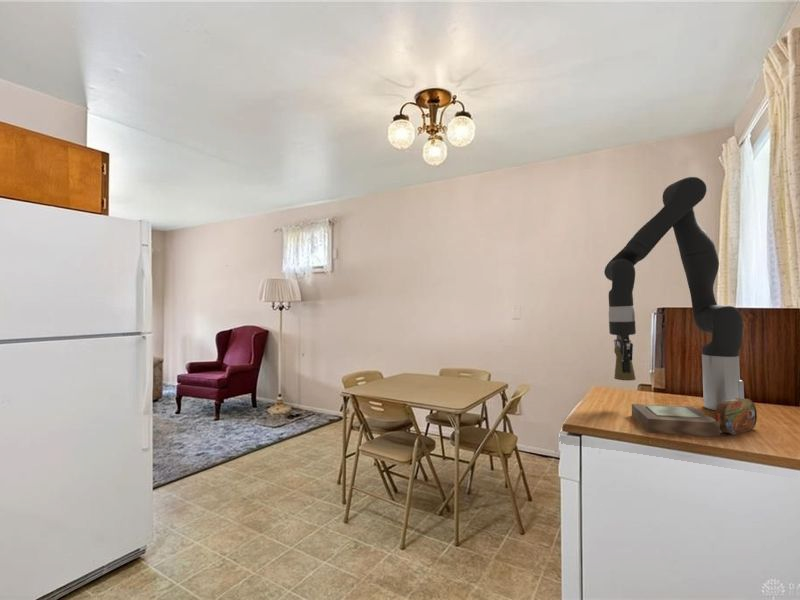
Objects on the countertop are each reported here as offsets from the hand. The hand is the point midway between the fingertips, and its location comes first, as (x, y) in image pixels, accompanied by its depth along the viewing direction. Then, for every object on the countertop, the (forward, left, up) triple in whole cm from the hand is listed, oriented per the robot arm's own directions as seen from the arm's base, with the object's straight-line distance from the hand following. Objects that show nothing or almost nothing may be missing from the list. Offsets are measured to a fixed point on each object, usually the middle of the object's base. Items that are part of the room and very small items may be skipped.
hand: (624, 371), depth 126 cm
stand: (-8, +16, -12) cm, 22 cm away
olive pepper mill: (0, 0, -3) cm, 3 cm away
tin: (-22, +18, -12) cm, 31 cm away
